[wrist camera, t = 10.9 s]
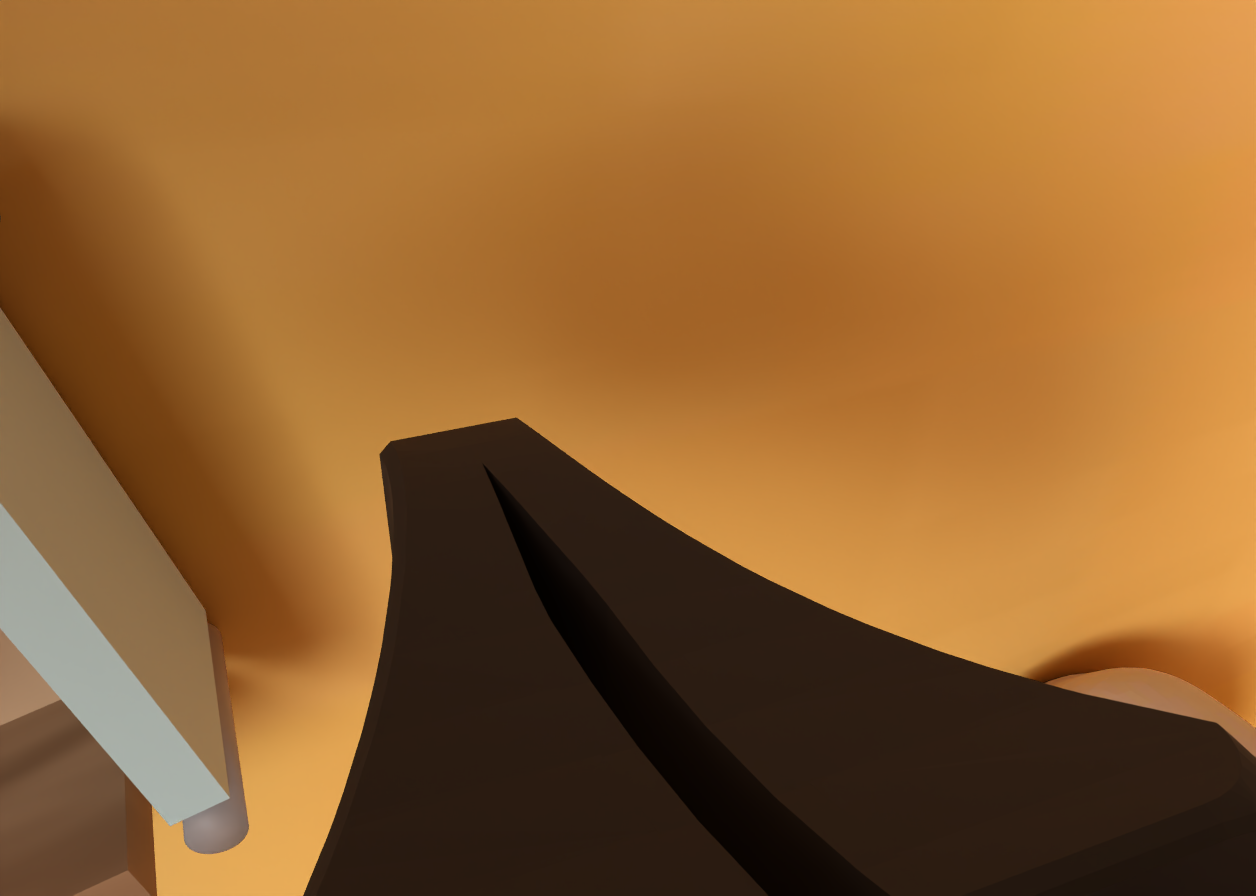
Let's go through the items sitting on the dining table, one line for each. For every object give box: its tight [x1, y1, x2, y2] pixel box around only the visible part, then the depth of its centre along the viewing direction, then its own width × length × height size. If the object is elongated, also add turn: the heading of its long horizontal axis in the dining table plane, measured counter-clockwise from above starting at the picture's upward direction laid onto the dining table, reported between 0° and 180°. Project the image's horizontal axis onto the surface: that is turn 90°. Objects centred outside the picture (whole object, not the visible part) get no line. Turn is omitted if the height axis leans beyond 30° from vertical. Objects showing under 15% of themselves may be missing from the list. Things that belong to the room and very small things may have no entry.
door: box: [0, 217, 249, 854], centre depth 17 cm, size 12×2×5 cm, turn 14°
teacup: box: [1045, 667, 1256, 757], centre depth 35 cm, size 14×11×8 cm
